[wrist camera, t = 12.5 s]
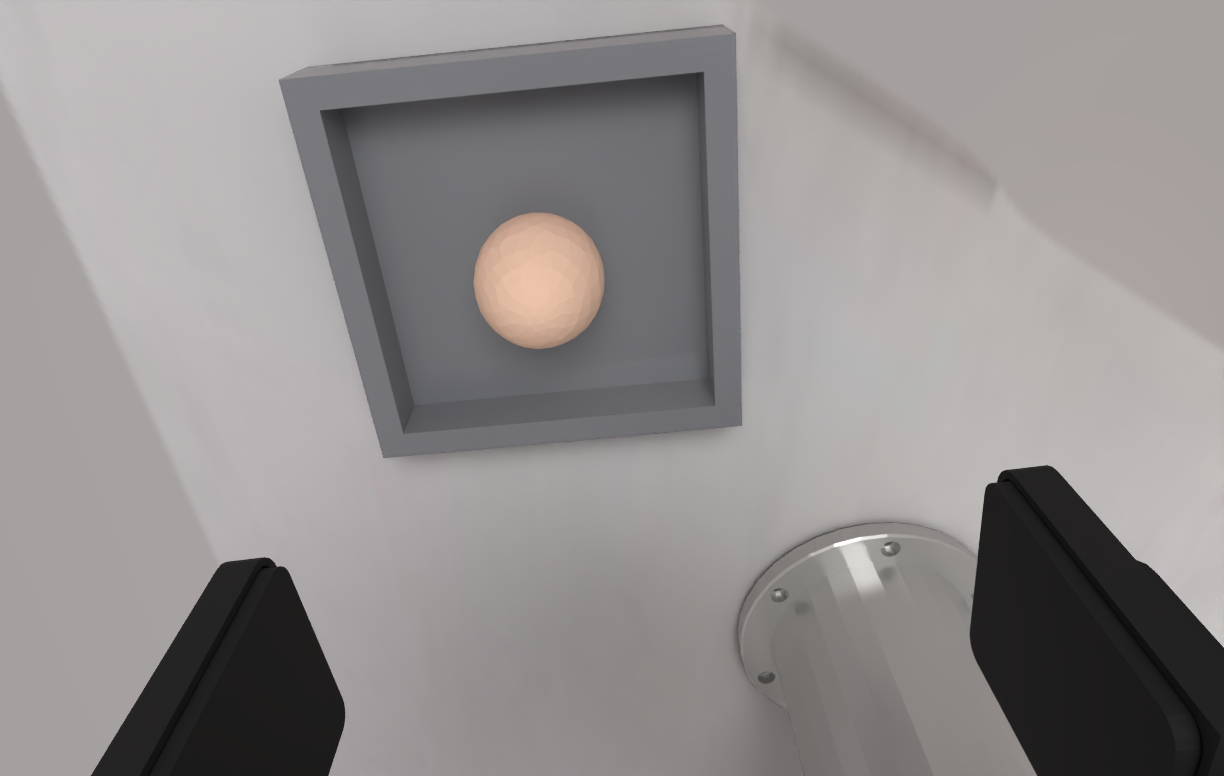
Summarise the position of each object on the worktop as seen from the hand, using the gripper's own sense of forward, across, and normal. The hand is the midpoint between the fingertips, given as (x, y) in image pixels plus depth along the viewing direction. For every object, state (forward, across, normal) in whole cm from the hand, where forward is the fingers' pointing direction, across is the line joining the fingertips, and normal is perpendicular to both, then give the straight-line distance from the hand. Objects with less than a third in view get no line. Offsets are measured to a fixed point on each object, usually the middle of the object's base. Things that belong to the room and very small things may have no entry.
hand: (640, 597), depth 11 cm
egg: (+21, +3, +2) cm, 21 cm away
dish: (+21, +3, +2) cm, 21 cm away
